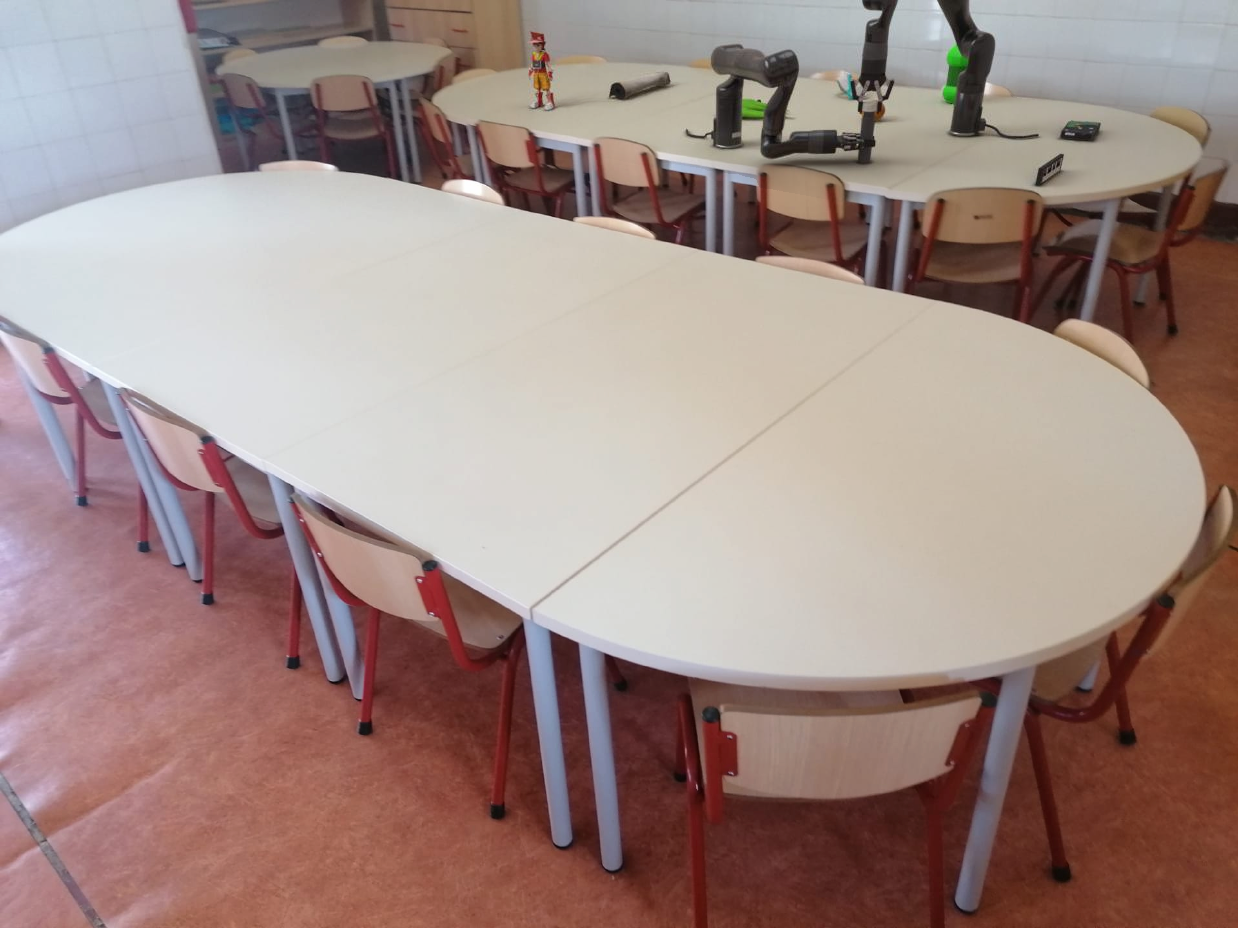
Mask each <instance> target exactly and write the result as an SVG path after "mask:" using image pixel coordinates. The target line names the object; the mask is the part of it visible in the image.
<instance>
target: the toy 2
mask: <svg viewBox="0 0 1238 928" xmlns="http://www.w3.org/2000/svg"><path fill="white" fill-rule="evenodd" d="M766 105H767V102H766V103H765V102H762V100H761V99H757V100H755V99H752V98H742V118H755V119H763V117H764V110H765V107H766ZM786 112H789V109H787V111H786ZM792 118H793V117H791V116H787V115H786V118H785V119H792Z"/></svg>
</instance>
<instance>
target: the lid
mask: <svg viewBox="0 0 1238 928" xmlns="http://www.w3.org/2000/svg"><path fill="white" fill-rule="evenodd" d="M877 106H878V102H876V101H871V100H865V101H864V100H863V106H862V111H865V112H874V111H877Z"/></svg>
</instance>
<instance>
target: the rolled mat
mask: <svg viewBox="0 0 1238 928" xmlns="http://www.w3.org/2000/svg"><path fill="white" fill-rule="evenodd" d="M671 83H672V81H671V77H670V74H669V72H668V71H658V72H654V73H649V74H645V75H640V76H637V77H633V78H628V79H623V80H620V81H616V82H613V83H612V84H611V85H610V89H609V95H608V97H609V98H611V97H616V99H620V100H622V101H623V100H626V99H627V98H629V97H630V96H632V95H635V94H636V93H638V92H640V91H643V90H644V89H647V88H650V87H655V86H658V87H659V86H661V87H665V86H669V85H670V84H671Z"/></svg>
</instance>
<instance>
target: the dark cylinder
mask: <svg viewBox="0 0 1238 928" xmlns="http://www.w3.org/2000/svg"><path fill="white" fill-rule="evenodd" d="M874 114H875V111H874V112H865V111H864V116H862V115H861V126H860V132H859V133H860V140H862V139H863V140H873V136H874V133H875V124H876V121H875V116H874ZM872 149H873V147H863V148H862V149H861V150H857V151H858V152H857V153H858V154H857V163H859V164H864V165H865V164H870V163H871V159H872V152H873V151H872Z"/></svg>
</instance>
